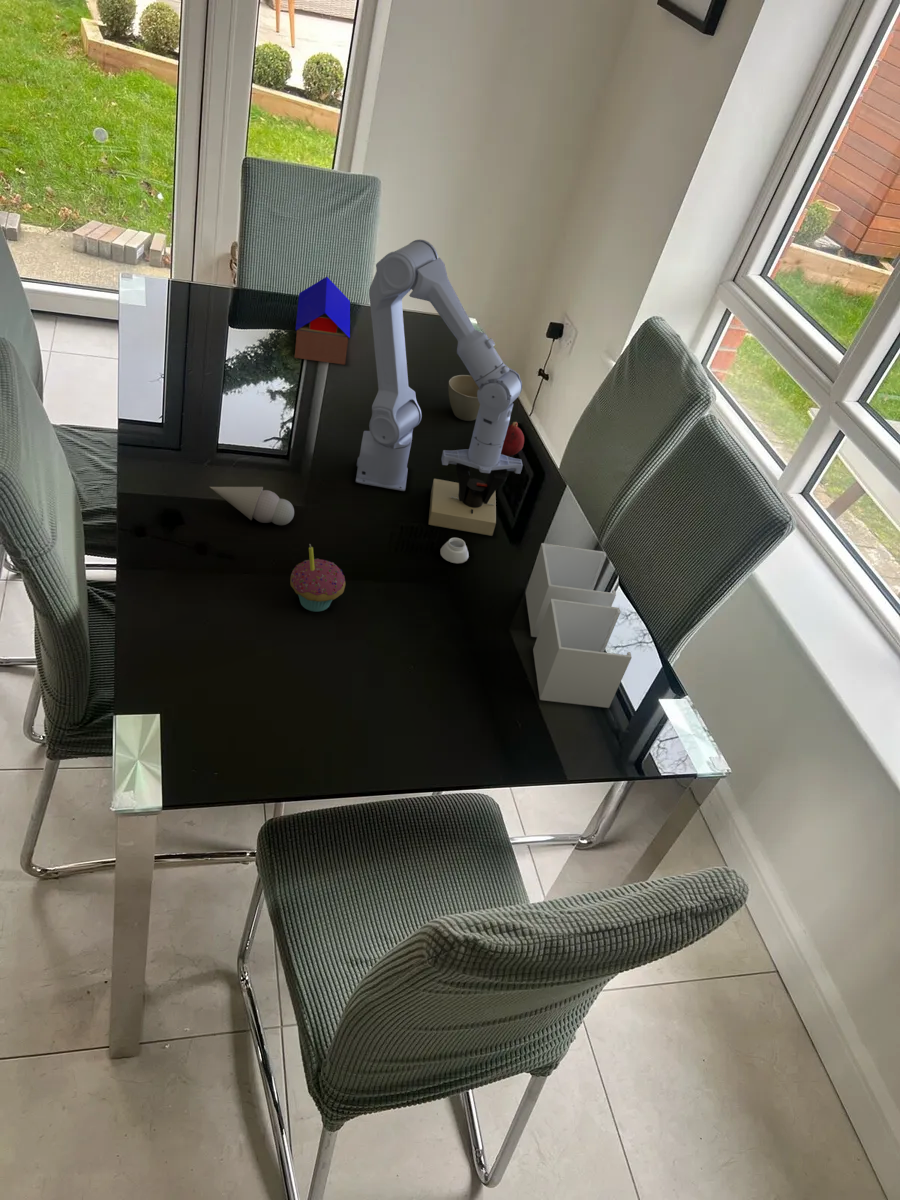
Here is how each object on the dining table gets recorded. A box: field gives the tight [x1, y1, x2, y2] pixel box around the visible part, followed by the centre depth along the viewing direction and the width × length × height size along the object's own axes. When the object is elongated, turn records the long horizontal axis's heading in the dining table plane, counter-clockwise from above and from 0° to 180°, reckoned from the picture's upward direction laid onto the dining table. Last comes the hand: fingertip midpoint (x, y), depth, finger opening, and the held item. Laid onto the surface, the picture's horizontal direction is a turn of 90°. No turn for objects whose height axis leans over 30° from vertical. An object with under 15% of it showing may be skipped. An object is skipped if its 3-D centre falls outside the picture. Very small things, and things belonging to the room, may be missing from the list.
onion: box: [501, 421, 525, 457], centre depth 188 cm, size 6×6×8 cm
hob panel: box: [427, 478, 497, 537], centre depth 171 cm, size 12×11×3 cm
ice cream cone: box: [209, 486, 295, 526], centre depth 156 cm, size 6×6×15 cm
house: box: [294, 276, 351, 366], centre depth 209 cm, size 12×20×12 cm, turn 5°
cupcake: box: [289, 543, 346, 612], centre depth 141 cm, size 9×8×12 cm
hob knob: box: [462, 477, 487, 508], centre depth 168 cm, size 4×4×4 cm
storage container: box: [525, 542, 632, 709], centre depth 145 cm, size 25×11×11 cm, turn 2°
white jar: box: [439, 537, 470, 564], centre depth 160 cm, size 5×3×5 cm
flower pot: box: [447, 374, 480, 422], centre depth 198 cm, size 10×10×7 cm
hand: (472, 499), depth 170 cm, fingers closed on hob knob, 4 cm apart
